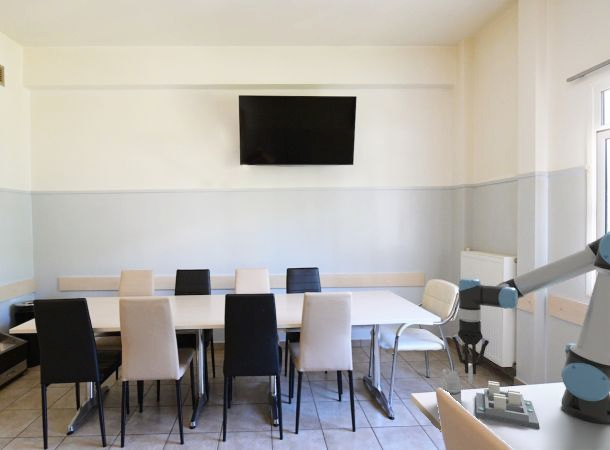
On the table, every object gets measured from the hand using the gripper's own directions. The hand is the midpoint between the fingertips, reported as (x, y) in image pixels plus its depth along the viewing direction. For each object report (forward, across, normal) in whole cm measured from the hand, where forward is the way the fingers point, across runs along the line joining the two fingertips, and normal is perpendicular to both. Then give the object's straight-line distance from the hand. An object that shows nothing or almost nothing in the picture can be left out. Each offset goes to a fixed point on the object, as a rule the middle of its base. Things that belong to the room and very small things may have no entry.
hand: (470, 382), depth 135 cm
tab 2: (+4, -9, +11) cm, 15 cm away
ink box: (+7, +6, +10) cm, 13 cm away
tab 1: (+5, -8, 0) cm, 9 cm away
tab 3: (+4, -14, +6) cm, 16 cm away
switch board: (+6, -11, +6) cm, 14 cm away
